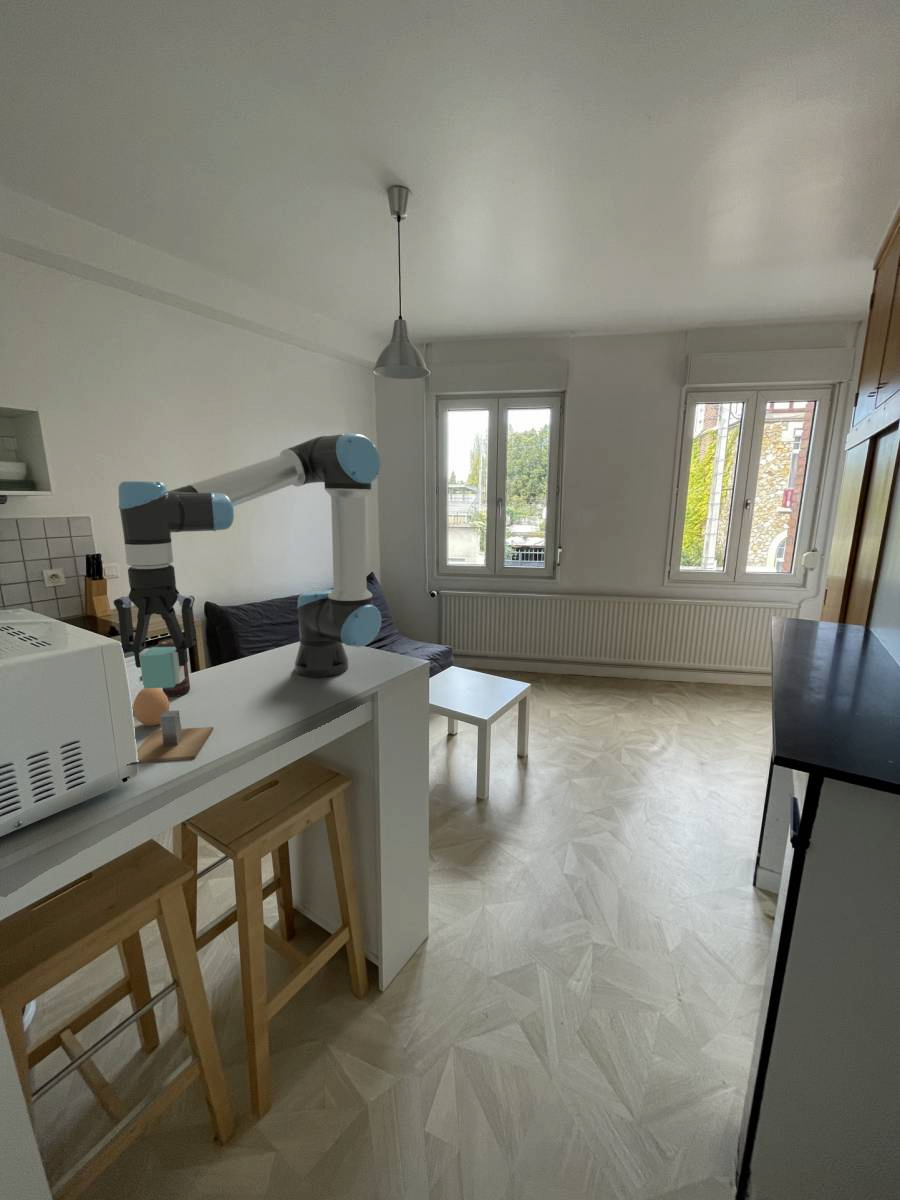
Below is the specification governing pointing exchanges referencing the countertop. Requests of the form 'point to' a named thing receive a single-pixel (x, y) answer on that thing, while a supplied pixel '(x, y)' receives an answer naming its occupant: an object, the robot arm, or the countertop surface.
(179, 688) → the can
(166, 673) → the turquoise block
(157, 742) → the base board
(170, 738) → the post
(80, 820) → the countertop surface
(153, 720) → the egg
